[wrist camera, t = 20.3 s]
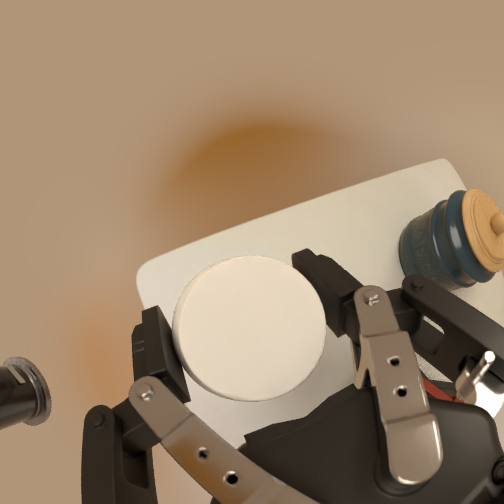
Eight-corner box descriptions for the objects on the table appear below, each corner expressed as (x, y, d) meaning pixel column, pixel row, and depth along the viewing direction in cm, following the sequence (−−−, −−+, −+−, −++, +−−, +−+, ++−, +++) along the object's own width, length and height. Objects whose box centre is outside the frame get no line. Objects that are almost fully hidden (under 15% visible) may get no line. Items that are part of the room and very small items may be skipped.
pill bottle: (297, 319, 19) (380, 303, 9) (247, 389, 17) (280, 456, 7) (226, 269, 20) (233, 197, 9) (174, 338, 18) (117, 346, 7)
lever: (364, 361, 31) (368, 355, 28) (379, 342, 32) (383, 334, 29) (452, 425, 21) (462, 423, 19) (464, 404, 22) (475, 400, 20)
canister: (456, 289, 38) (534, 265, 21) (405, 303, 36) (498, 281, 19) (439, 219, 41) (507, 175, 24) (388, 221, 39) (463, 165, 22)
